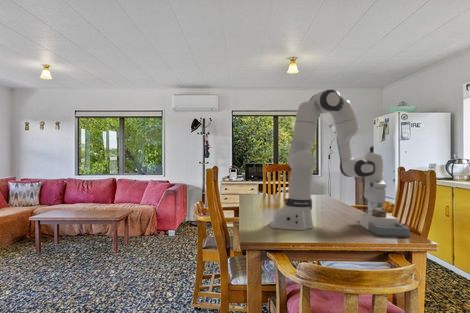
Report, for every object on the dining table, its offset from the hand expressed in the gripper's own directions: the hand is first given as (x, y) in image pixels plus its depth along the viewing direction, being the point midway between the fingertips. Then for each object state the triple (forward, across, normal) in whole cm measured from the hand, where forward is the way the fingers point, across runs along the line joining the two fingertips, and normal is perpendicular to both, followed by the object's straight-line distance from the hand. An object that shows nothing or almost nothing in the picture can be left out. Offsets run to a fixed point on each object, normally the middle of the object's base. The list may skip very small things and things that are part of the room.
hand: (373, 209), depth 167 cm
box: (+8, +19, 0) cm, 21 cm away
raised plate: (+8, +7, 0) cm, 11 cm away
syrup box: (+9, -13, +6) cm, 17 cm away
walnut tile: (+2, +8, 0) cm, 8 cm away
